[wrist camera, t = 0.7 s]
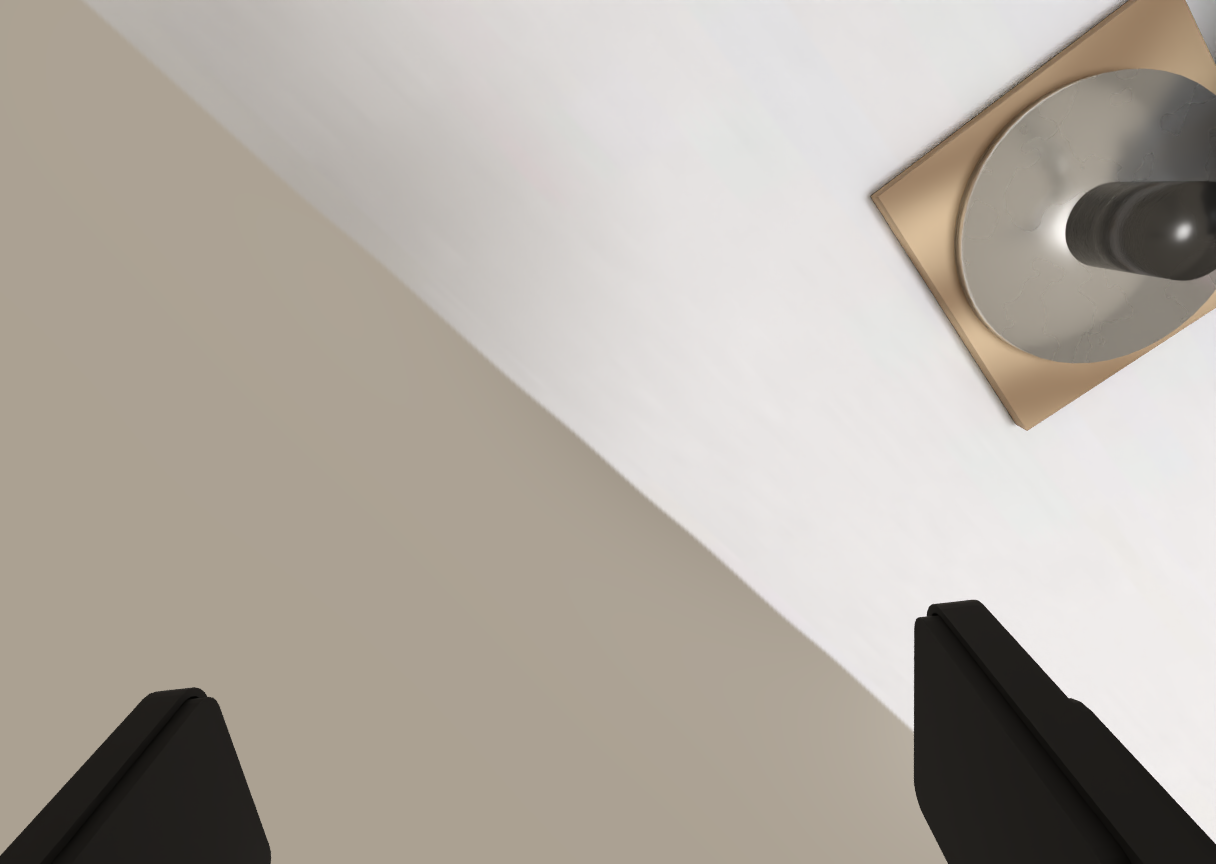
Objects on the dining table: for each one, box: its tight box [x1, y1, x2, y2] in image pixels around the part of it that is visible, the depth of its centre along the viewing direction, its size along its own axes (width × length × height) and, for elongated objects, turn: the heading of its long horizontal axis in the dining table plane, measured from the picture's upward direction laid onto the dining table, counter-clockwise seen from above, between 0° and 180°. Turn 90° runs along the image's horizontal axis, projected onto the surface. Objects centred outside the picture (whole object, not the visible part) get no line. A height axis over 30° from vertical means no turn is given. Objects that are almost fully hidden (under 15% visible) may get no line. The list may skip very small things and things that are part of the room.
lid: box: [954, 69, 1216, 363], centre depth 30 cm, size 12×12×6 cm
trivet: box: [871, 0, 1216, 431], centre depth 33 cm, size 14×14×1 cm
